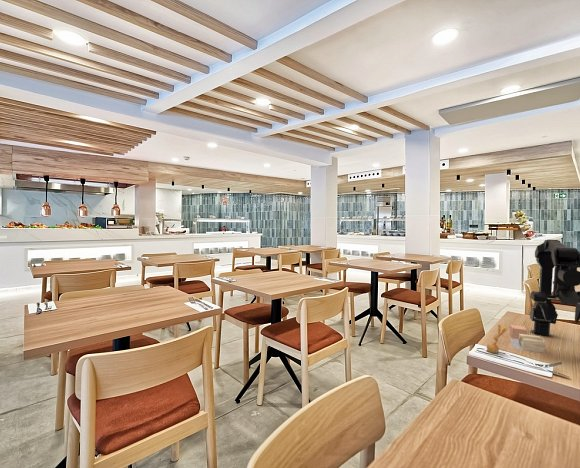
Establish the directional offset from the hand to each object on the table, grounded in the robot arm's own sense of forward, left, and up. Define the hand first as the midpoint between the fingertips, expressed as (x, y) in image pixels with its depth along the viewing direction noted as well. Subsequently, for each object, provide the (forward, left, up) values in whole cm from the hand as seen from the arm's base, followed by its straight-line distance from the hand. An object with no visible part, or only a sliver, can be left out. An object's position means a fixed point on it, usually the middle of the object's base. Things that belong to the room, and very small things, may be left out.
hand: (560, 320), depth 121 cm
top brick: (-16, -10, -14) cm, 23 cm away
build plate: (-6, -9, -14) cm, 17 cm away
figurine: (+8, -22, -14) cm, 27 cm away
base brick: (-4, -8, -13) cm, 16 cm away
